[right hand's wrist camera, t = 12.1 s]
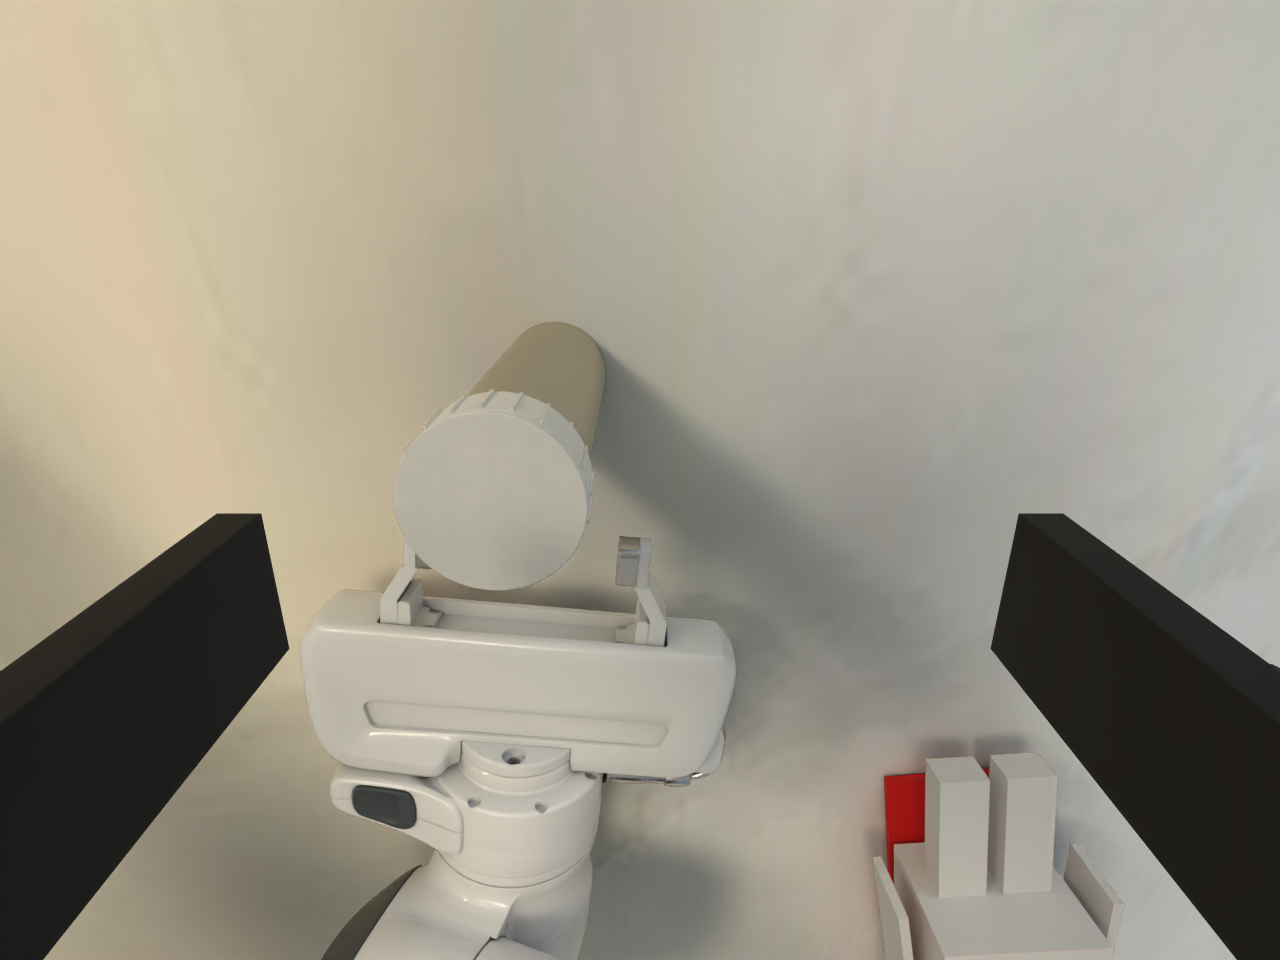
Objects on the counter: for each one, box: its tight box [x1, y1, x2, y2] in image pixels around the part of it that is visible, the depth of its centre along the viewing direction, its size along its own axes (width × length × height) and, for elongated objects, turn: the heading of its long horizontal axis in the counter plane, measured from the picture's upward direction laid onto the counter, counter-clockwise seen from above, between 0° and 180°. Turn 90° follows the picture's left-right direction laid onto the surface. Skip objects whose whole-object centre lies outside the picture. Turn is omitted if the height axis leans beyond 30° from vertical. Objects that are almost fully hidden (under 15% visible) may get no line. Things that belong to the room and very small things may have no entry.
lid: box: [393, 389, 595, 591], centre depth 21 cm, size 6×6×2 cm
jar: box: [466, 322, 606, 458], centre depth 28 cm, size 5×5×16 cm
